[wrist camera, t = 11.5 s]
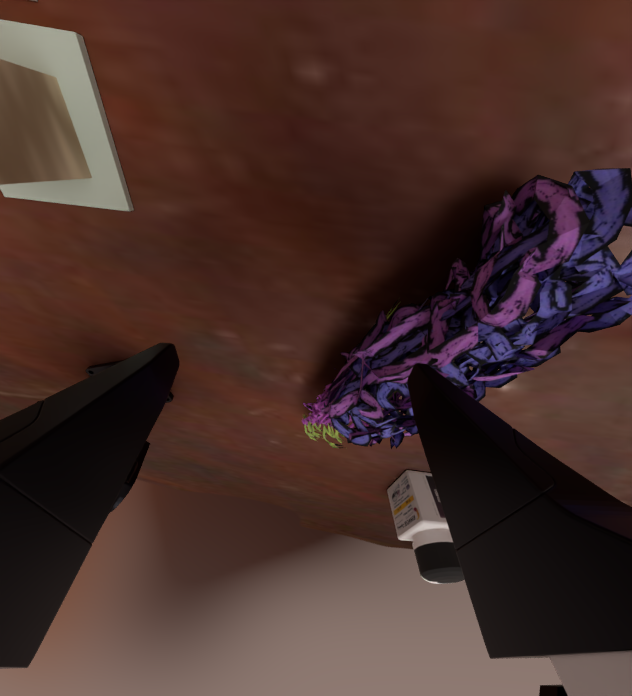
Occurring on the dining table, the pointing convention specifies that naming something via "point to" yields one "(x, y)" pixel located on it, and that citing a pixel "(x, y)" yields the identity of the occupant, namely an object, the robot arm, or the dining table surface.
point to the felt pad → (85, 111)
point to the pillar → (36, 129)
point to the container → (424, 526)
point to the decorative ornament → (494, 305)
